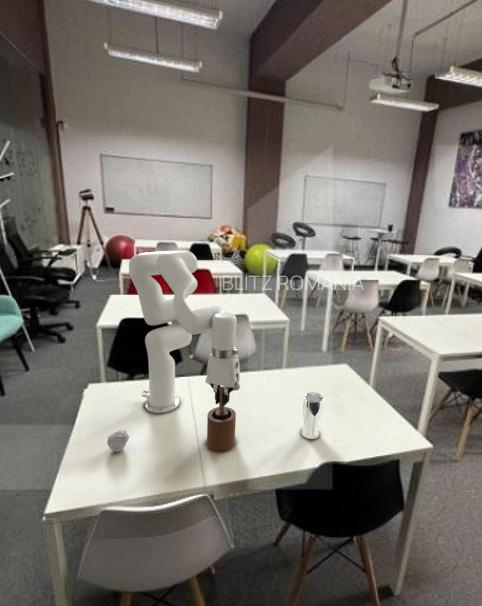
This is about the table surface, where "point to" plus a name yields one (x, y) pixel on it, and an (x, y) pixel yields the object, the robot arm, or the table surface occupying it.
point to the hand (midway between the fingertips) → (222, 402)
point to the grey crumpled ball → (118, 440)
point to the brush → (221, 407)
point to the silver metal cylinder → (312, 414)
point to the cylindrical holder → (221, 431)
